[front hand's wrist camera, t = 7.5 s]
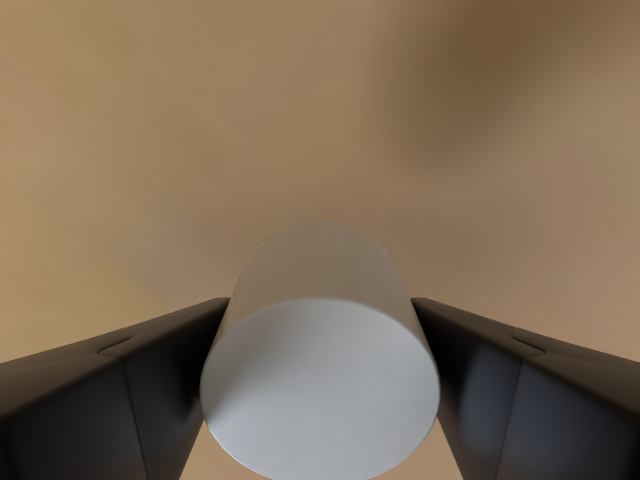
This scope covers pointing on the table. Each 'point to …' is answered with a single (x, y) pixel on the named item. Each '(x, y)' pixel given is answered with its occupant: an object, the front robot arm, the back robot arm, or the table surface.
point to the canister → (320, 360)
